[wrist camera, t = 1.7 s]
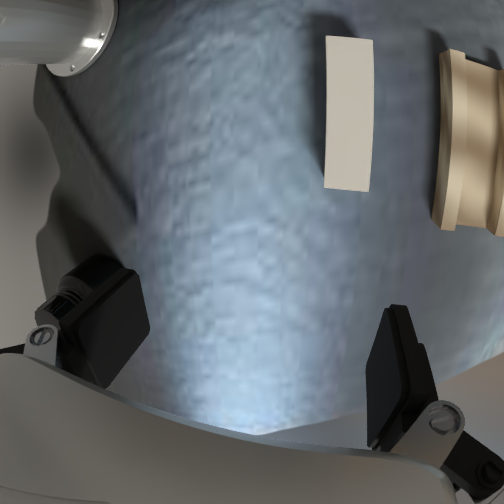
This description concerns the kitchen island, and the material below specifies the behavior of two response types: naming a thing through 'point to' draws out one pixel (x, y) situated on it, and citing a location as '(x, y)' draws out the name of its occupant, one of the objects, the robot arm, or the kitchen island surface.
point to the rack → (470, 146)
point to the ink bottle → (75, 288)
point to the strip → (349, 113)
